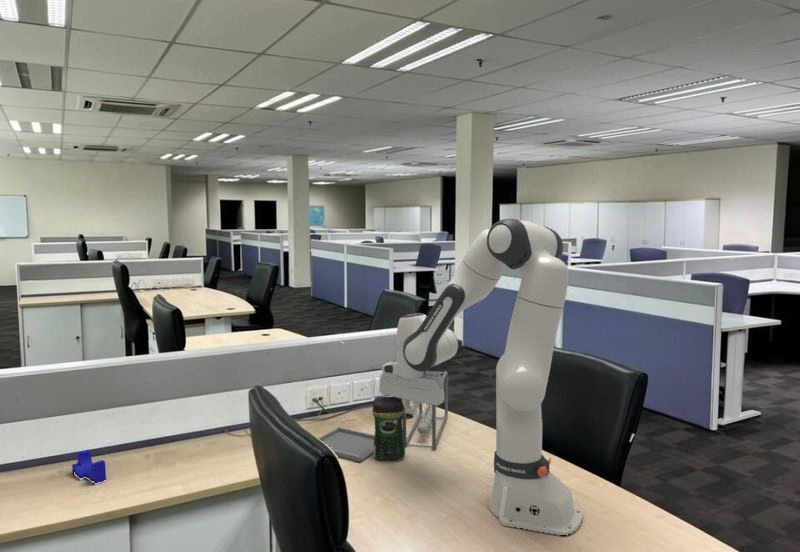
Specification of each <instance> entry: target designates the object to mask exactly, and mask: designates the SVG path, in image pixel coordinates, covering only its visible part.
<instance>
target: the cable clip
mask: <svg viewBox="0 0 800 552" xmlns="http://www.w3.org/2000/svg"><path fill="white" fill-rule="evenodd" d="M91 455H92V454H91V451H90V450H89V449H86V450H83V451H82V450H81V451H79V452H76V457H77V458H76V459H77V463H74V464H71V469H72V471H71V472H72V474H73V473H74V472H75V474H76V475H77V476H78V477H79V478H83V477H87V478H89V479H90V480H91V481H94V483H98V482H102V481H104V480H106V481H107V470H106V461H105V460H104V459H101V460H98V461H95V462H93V460H92V456H91Z"/></svg>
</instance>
